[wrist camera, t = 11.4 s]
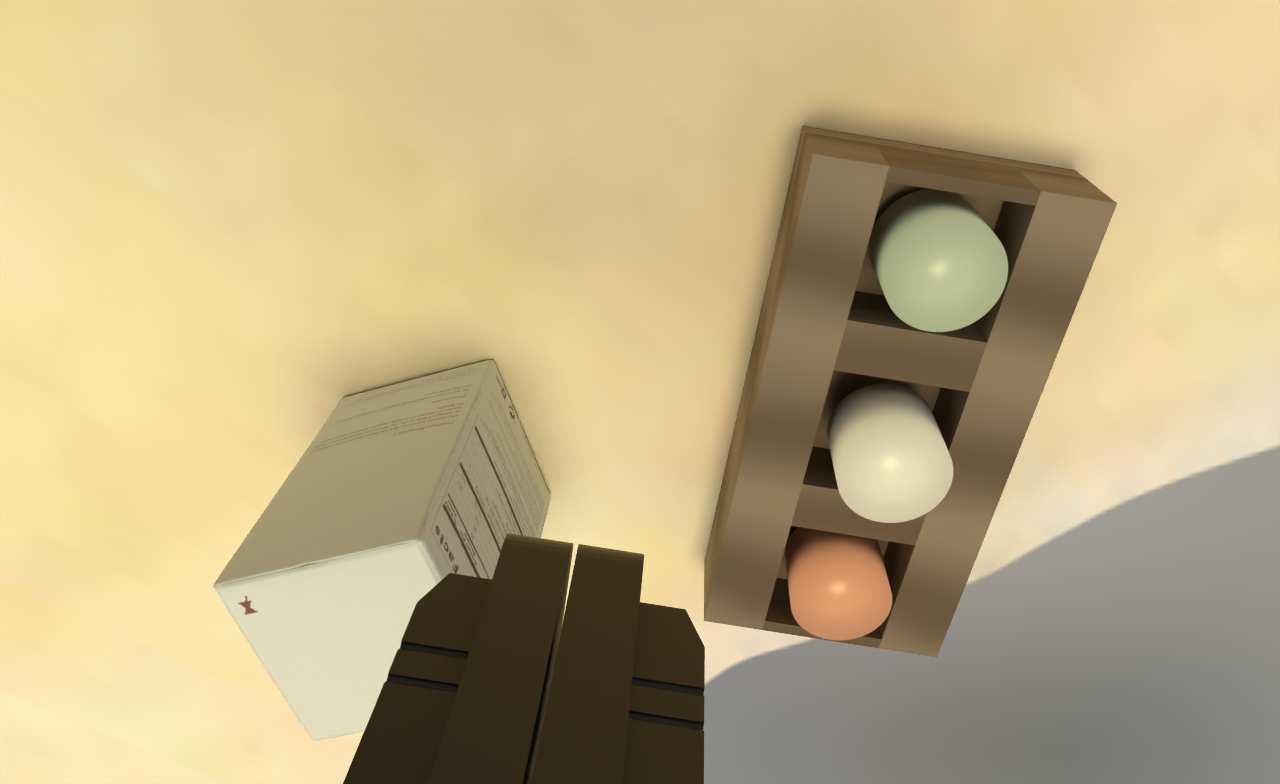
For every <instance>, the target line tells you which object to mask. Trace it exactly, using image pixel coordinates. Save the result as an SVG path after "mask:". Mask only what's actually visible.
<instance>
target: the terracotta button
mask: <svg viewBox="0 0 1280 784" xmlns="http://www.w3.org/2000/svg"><path fill="white" fill-rule="evenodd" d="M785 560H786V569H787V578H788V587H789V596H790V605H791V611H792V614H793V616H794V618H795V620H796V621H797V623H798V624H799V625H800V626H801V627H802V628H803V629H805V630H806V631H807V632H809V633H811V634H813V635H815V636H817V637H820V638H824V639H828V640H850V639H855V638H858V637H862V636H864V635H866V634H868V633H870V632H872V631H874V630H875V629H876V628H878V627H879V626H880V625H881V624H882V623H883V622H884V621H885V619H886V618H887V616H888V615H889V612H890V610H891V606H892V593H891V589H890V585H889V581H888V577H887V573H886V569H885V565H884V561H883V558H882V554H881V550H880V546H879V542H878V539H872V538H866V537H859V536H853V535H847V534H840V533H834V532H828V531H821V530H815V529H809V528H802V527H797V528H796V529H795V530H794V531H793V533H792V534H791V535H790V537H789V539H788V541H787V544H786V548H785Z"/></svg>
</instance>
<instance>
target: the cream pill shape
mask: <svg viewBox="0 0 1280 784" xmlns="http://www.w3.org/2000/svg"><path fill="white" fill-rule="evenodd" d="M827 437H828V443H829V448H830V453H831V457H832V462H833V467H834V472H835V476H836V481H837V486H838V490H839V493H840V495H841V497H842V499H843V500H844V502H845V503H846V504H847V506H848V507H849V508H850V509H852V510H853V511H854V512H855V513H857V514H858V515H860V516H862V517H864V518H866V519H869V520H872V521H877V522H883V523H898V522H904V521H909V520H912V519H915V518H918V517H920V516H922V515H924V514H926V513H928V512H929V511H931V510H932V509H933V508H935V507H936V506H937V505H938V504H939V503H940V502H941V501H942V500H943V498H944V497H945V496H946V494H947V492H948V491H949V488H950V486H951V483H952V480H953V463H952V459H951V457H950V454H949V452H948V449H947V447H946V444H945V442H944V440H943V437H942V435H941V432H940V430H939V428H938V425H937V423H936V420H935V418H934V416H933V413H932V411H931V409H930V407H929V405H928V404H927V402H926V401H925V400H924V399H923V398H922V397H921V396H920V395H919V394H917V393H916V392H915V391H913V390H911V389H909V388H907V387H904V386H901V385H896V384H888V383H887V384H874V385H869V386H866V387H863V388H860V389H858V390H856V391H854V392H852V393H851V394H849V395H848V396H846V397H845V398H844V399H843V400H842V401H841V402H840V403H839V404H838V405H837V406H836V408H835V409H834V411H833V413H832V414H831V416H830V419H829V422H828V427H827Z"/></svg>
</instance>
